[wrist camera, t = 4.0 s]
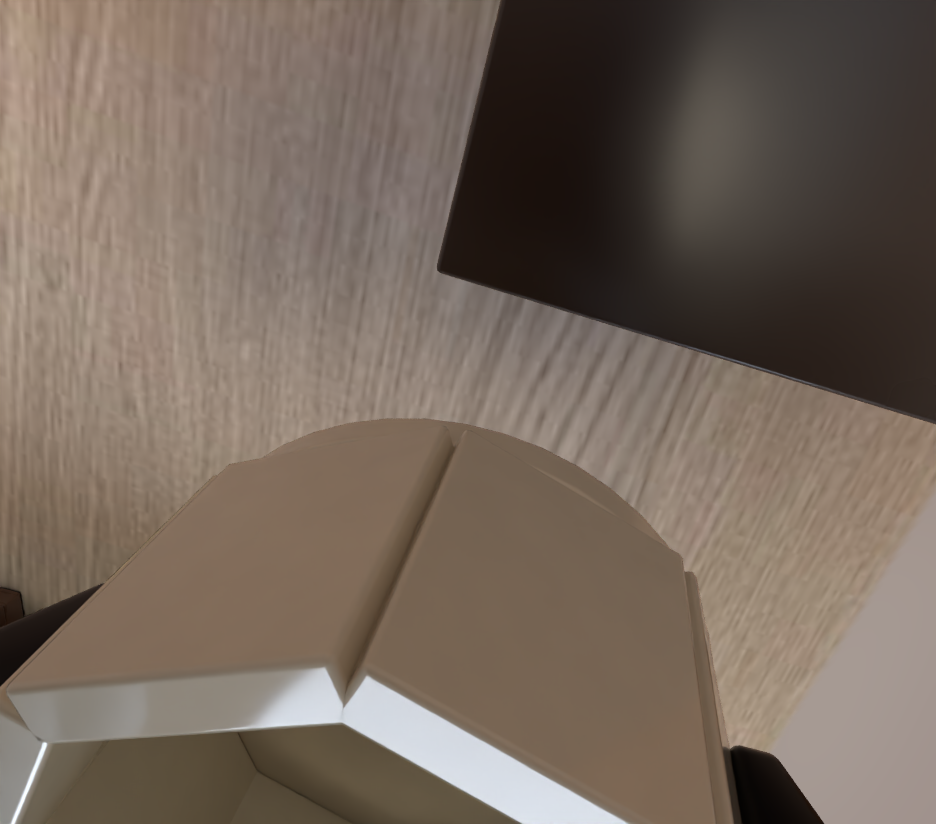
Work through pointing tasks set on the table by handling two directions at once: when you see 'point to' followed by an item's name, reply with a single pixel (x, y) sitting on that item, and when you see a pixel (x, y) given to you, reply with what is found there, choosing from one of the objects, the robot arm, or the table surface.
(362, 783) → the faceted cream cylinder
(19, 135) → the table surface
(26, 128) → the table surface
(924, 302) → the pedestal
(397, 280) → the table surface
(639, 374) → the table surface
